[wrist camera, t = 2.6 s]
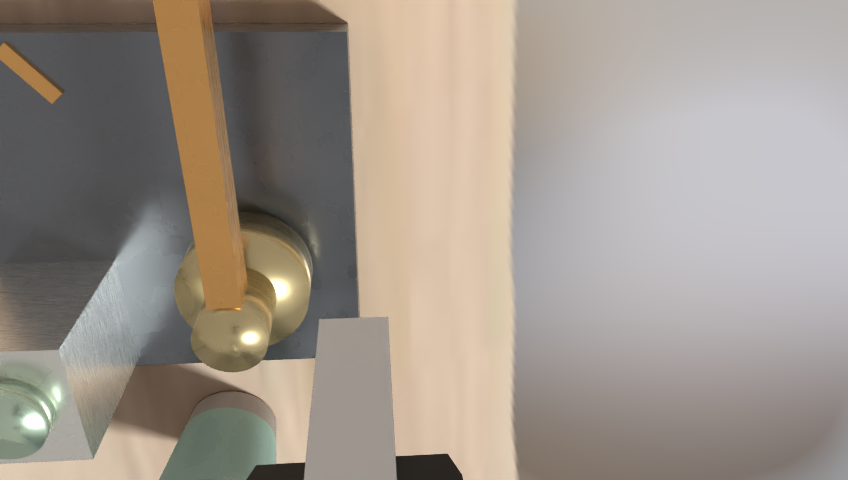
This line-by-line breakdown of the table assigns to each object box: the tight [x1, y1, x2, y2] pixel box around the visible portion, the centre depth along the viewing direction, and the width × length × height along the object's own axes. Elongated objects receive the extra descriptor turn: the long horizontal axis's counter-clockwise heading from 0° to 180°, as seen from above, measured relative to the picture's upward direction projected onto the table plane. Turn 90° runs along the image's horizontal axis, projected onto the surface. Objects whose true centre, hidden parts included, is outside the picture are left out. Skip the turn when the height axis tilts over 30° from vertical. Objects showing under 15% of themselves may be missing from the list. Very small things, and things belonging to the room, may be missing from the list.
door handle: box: [153, 0, 313, 372], centre depth 32 cm, size 20×7×7 cm, turn 179°
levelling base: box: [0, 23, 360, 464], centre depth 34 cm, size 20×20×11 cm
